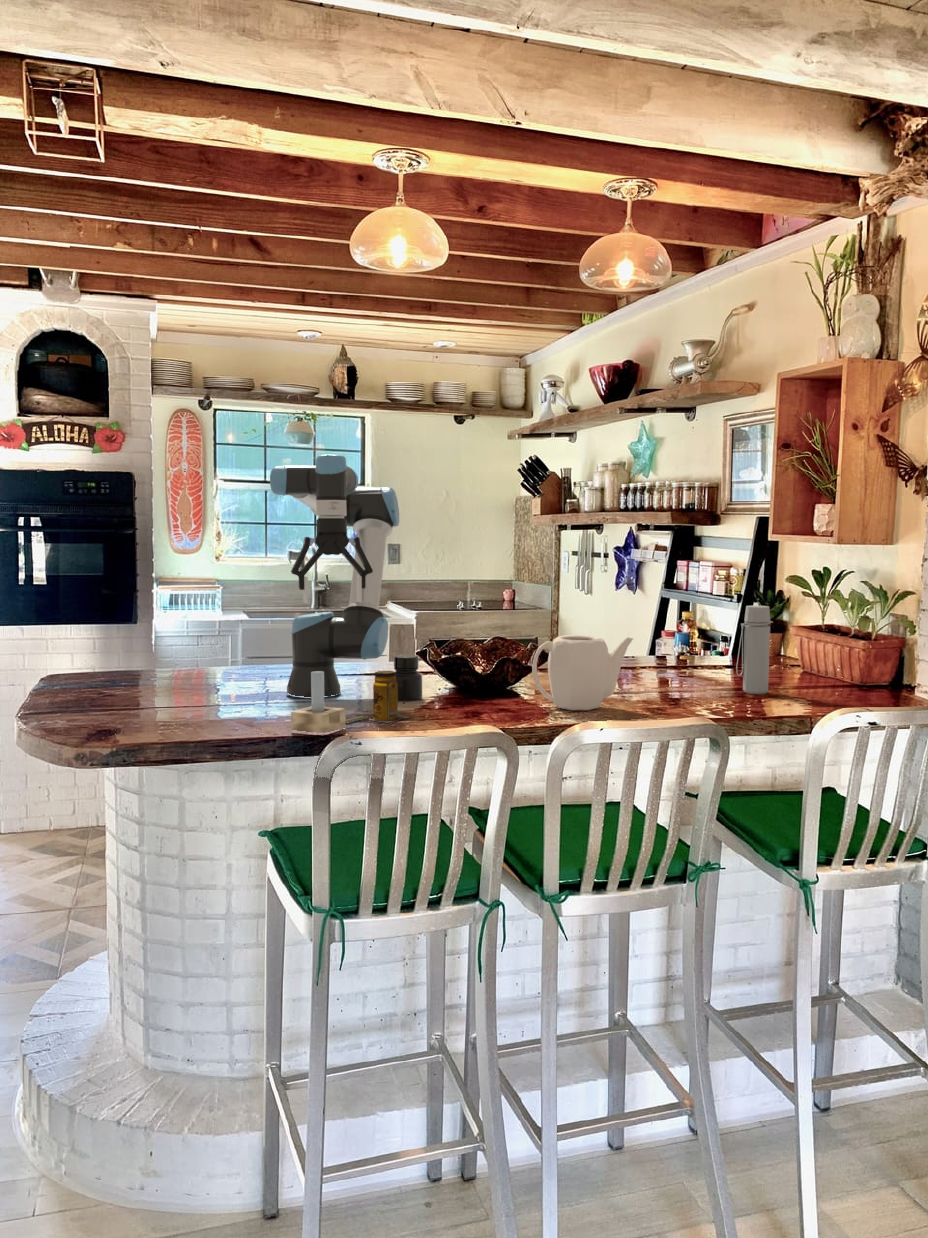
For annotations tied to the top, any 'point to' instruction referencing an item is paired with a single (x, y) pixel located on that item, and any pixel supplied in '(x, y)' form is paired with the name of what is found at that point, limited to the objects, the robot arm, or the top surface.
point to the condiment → (385, 697)
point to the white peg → (317, 691)
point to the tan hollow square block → (318, 720)
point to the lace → (355, 719)
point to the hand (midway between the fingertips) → (332, 602)
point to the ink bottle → (408, 677)
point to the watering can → (580, 671)
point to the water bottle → (755, 649)
